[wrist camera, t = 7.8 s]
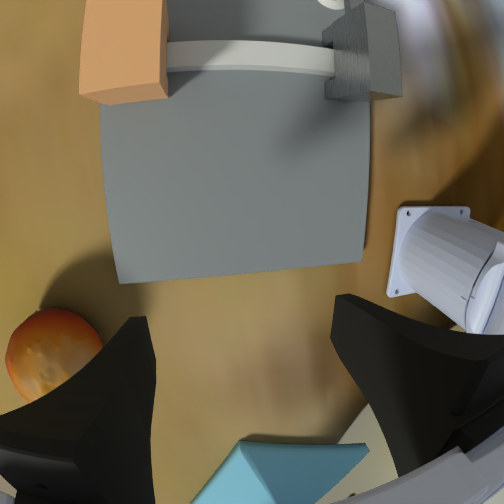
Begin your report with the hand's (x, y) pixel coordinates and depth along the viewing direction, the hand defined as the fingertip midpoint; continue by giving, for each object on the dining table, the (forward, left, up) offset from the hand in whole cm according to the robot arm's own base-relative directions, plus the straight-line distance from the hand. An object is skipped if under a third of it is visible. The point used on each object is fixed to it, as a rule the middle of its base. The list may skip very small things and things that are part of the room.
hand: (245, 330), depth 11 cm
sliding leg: (+4, -14, -9) cm, 17 cm away
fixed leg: (-8, -14, -9) cm, 19 cm away
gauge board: (-2, -9, -10) cm, 14 cm away
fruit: (+13, +7, -11) cm, 18 cm away
